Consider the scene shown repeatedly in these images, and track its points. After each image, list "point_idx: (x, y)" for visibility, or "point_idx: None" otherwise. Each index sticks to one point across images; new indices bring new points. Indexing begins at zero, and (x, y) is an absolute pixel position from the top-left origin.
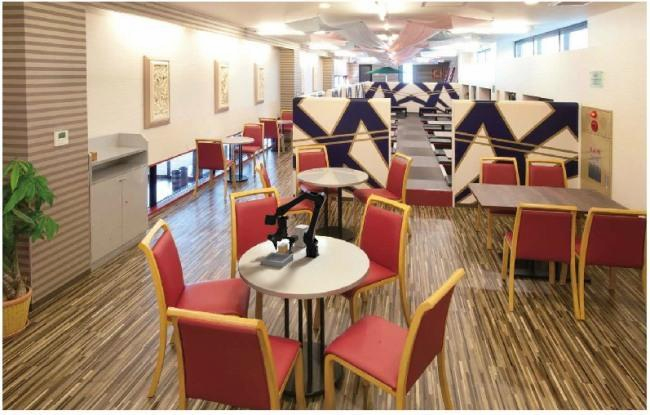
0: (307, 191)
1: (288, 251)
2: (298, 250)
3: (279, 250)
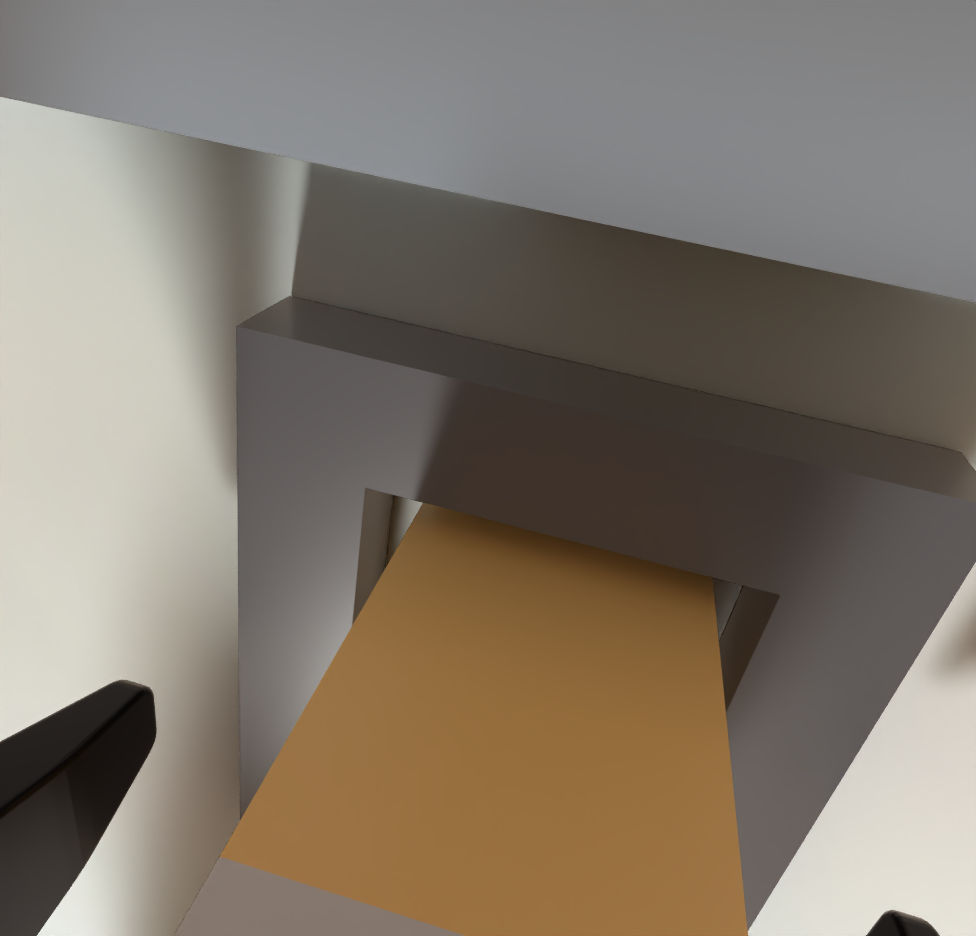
0: None
1: None
2: (173, 914)
3: (632, 734)
